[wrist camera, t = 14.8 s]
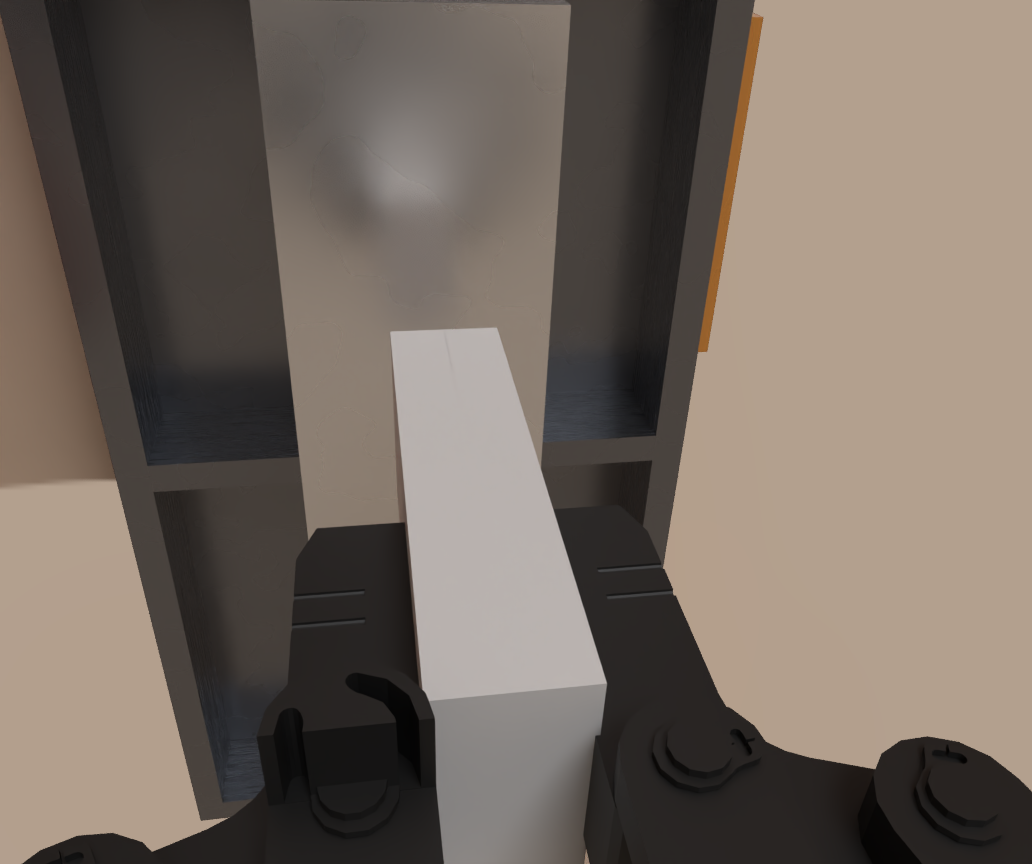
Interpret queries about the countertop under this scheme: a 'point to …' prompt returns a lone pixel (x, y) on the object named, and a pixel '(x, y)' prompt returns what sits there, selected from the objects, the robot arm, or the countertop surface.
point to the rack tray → (260, 318)
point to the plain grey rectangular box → (406, 209)
